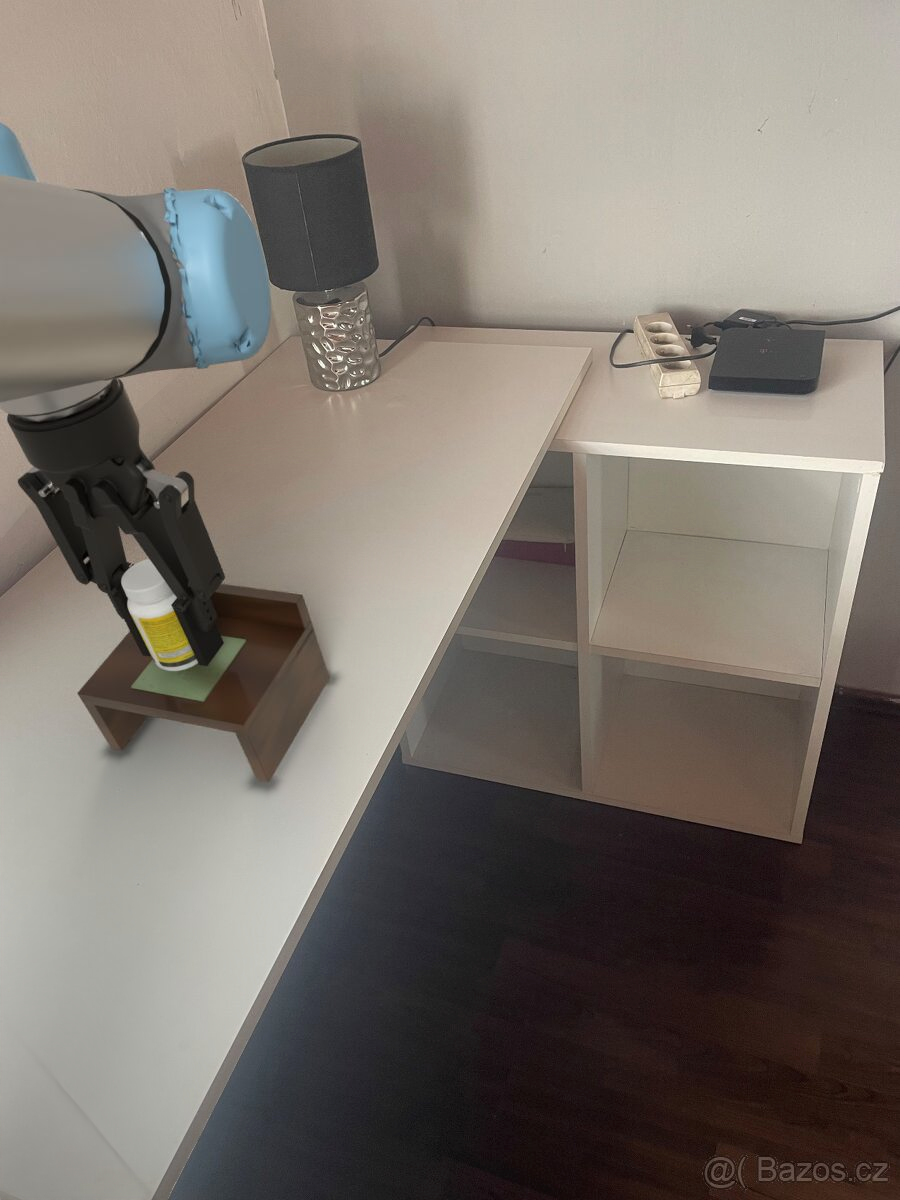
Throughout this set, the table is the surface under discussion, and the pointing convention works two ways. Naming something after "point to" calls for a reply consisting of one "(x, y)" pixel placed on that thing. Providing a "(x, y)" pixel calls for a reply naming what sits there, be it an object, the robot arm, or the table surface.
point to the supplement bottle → (157, 617)
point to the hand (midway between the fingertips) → (183, 648)
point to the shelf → (223, 679)
